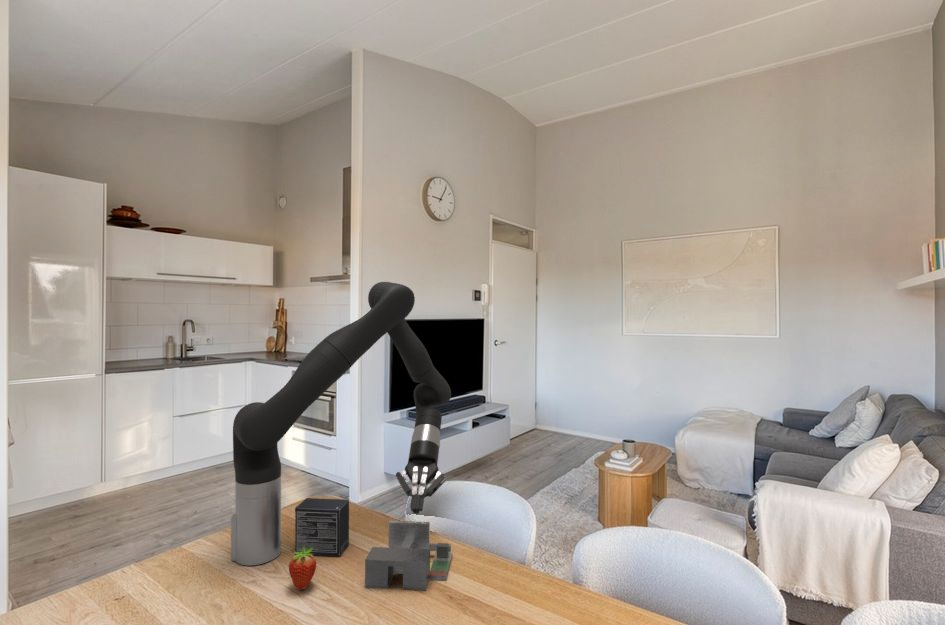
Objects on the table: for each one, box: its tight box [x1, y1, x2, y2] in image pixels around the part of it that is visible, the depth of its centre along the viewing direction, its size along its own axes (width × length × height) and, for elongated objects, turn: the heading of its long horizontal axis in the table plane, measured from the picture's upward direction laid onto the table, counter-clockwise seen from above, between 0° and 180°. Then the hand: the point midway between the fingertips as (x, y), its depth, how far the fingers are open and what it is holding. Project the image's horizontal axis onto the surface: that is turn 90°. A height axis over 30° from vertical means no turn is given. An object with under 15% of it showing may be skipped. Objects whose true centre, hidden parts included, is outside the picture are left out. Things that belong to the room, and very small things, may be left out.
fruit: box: [288, 546, 317, 591], centre depth 93 cm, size 5×5×8 cm
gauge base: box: [364, 546, 453, 592], centre depth 100 cm, size 16×14×6 cm
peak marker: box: [436, 542, 450, 558], centre depth 104 cm, size 2×2×2 cm, turn 85°
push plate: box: [388, 520, 452, 575], centre depth 101 cm, size 14×11×7 cm
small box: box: [294, 497, 350, 558], centre depth 108 cm, size 11×6×10 cm, turn 84°
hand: (415, 512), depth 114 cm, fingers closed
